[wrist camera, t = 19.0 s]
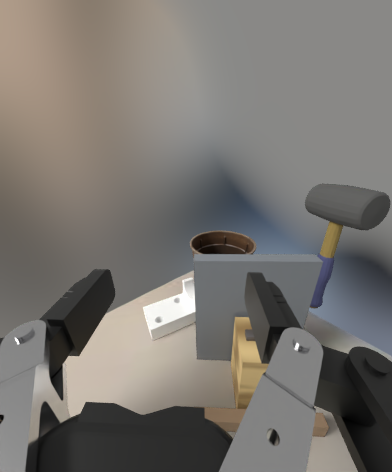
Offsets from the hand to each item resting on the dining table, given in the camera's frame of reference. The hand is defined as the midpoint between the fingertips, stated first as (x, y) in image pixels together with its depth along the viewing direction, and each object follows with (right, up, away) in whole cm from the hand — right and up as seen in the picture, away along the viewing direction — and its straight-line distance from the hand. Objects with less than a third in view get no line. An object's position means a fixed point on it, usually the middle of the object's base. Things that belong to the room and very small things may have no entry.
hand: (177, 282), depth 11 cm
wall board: (+10, -22, +20) cm, 32 cm away
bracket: (-4, -18, +34) cm, 38 cm away
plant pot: (+8, -14, +41) cm, 44 cm away
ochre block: (+10, -23, +20) cm, 32 cm away
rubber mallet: (+31, -15, +36) cm, 50 cm away
